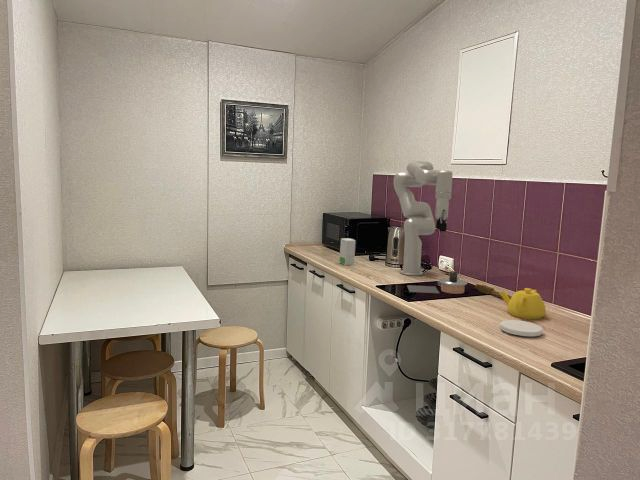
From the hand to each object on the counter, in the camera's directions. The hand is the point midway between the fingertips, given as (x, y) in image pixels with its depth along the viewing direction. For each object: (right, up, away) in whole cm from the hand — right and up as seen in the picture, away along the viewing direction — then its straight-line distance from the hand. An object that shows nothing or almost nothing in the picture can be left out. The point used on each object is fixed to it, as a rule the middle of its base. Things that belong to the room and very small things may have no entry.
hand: (441, 230), depth 239 cm
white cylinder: (-44, -20, +56) cm, 74 cm away
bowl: (+3, -30, -9) cm, 32 cm away
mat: (-11, -29, -7) cm, 32 cm away
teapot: (+21, -35, -44) cm, 60 cm away
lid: (+3, -25, -10) cm, 28 cm away
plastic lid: (+12, -38, -67) cm, 78 cm away
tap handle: (+22, -32, -14) cm, 41 cm away
